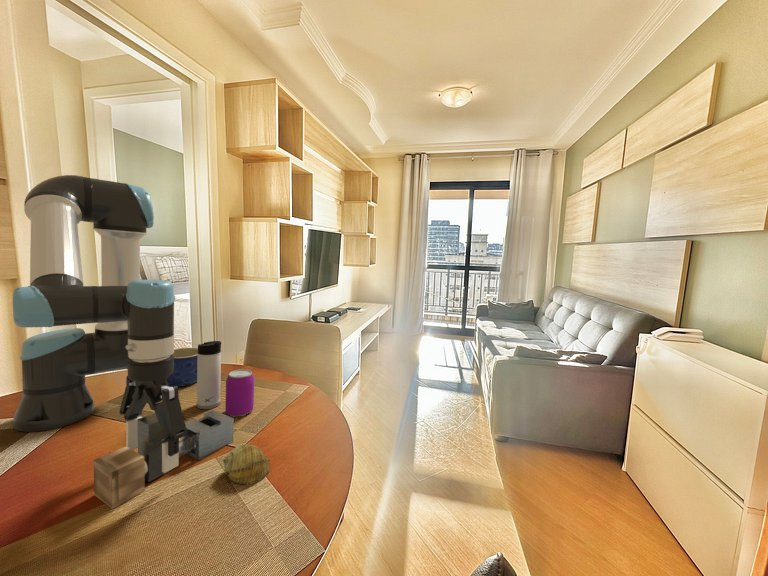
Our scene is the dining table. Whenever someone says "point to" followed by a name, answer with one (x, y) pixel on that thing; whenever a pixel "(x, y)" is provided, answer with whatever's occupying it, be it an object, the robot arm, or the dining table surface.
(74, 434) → the dining table surface
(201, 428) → the sleeve
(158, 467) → the sliding bolt
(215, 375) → the travel mug
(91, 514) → the dining table surface
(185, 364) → the planter
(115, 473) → the socket
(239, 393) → the beverage can
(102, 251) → the robot arm
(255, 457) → the seashell
